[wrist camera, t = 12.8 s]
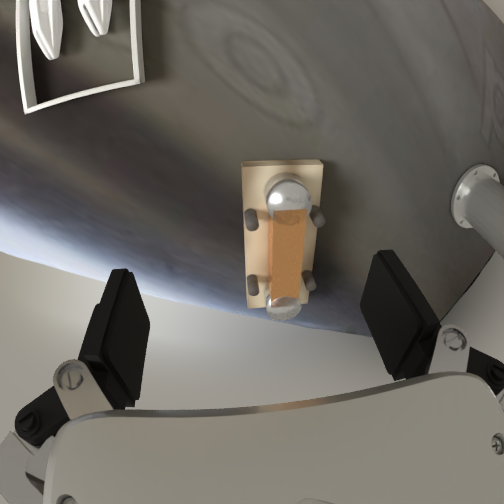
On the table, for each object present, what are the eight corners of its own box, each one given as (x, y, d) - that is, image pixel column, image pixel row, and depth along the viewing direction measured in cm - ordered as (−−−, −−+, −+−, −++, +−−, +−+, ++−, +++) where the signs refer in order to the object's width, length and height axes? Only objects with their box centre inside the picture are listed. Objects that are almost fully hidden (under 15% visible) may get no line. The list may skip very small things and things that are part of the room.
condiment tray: (140, -43, 20) (135, -49, 18) (145, 81, 30) (139, 83, 28) (26, -3, 19) (16, -4, 17) (34, 110, 29) (24, 114, 27)
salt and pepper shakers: (35, -5, 19) (37, 66, 26) (18, -8, 16) (20, 70, 23) (118, -34, 20) (118, 43, 27) (107, -42, 17) (106, 42, 24)
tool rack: (318, 159, 38) (330, 173, 34) (304, 294, 52) (311, 316, 48) (241, 161, 37) (244, 176, 33) (246, 299, 52) (249, 322, 48)
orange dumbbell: (305, 171, 37) (313, 184, 34) (294, 300, 50) (299, 318, 47) (263, 173, 36) (268, 186, 33) (263, 303, 50) (266, 321, 46)
